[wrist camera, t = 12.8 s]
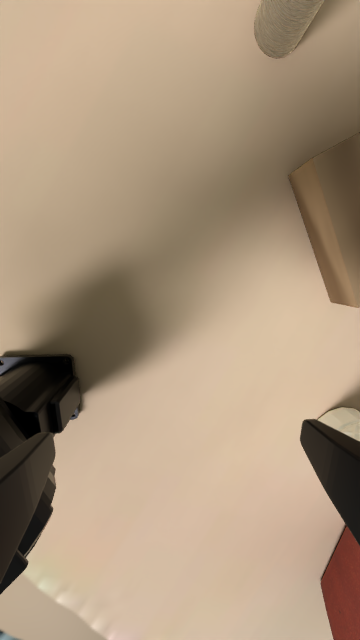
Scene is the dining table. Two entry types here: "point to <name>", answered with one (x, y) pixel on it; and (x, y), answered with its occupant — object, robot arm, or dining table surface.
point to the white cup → (343, 421)
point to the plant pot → (343, 589)
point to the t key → (283, 24)
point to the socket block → (333, 216)
